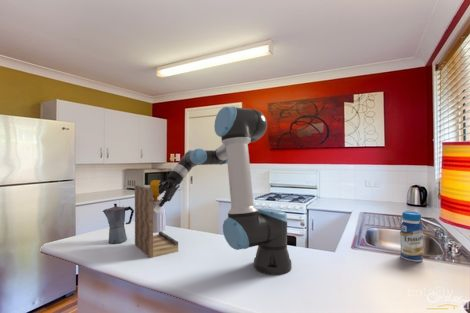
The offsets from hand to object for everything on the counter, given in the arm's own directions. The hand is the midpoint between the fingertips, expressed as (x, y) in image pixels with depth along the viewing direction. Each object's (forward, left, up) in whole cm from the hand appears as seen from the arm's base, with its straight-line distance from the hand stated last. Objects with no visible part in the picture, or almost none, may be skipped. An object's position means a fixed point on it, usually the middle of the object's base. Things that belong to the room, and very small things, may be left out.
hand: (149, 210), depth 128 cm
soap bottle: (+1, -3, -11) cm, 11 cm away
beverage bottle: (-80, -87, -19) cm, 120 cm away
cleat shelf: (0, -3, -19) cm, 19 cm away
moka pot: (+22, +9, -19) cm, 31 cm away
